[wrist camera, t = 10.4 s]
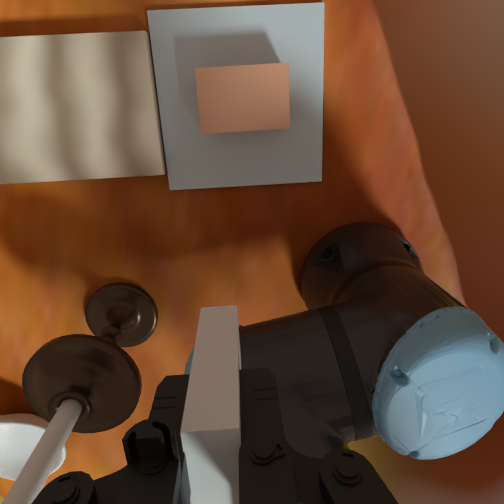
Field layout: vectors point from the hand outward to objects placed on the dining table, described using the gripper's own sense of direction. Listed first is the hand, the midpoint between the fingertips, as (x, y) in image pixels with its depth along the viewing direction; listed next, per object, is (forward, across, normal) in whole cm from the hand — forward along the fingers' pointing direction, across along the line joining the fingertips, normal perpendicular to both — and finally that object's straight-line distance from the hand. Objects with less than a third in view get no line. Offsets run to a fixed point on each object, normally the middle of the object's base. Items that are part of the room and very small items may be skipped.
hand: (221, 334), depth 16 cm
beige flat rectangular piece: (+30, +16, -10) cm, 36 cm away
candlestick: (+31, +15, +15) cm, 37 cm away
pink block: (+30, -2, -10) cm, 32 cm away
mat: (+30, -2, -10) cm, 32 cm away
